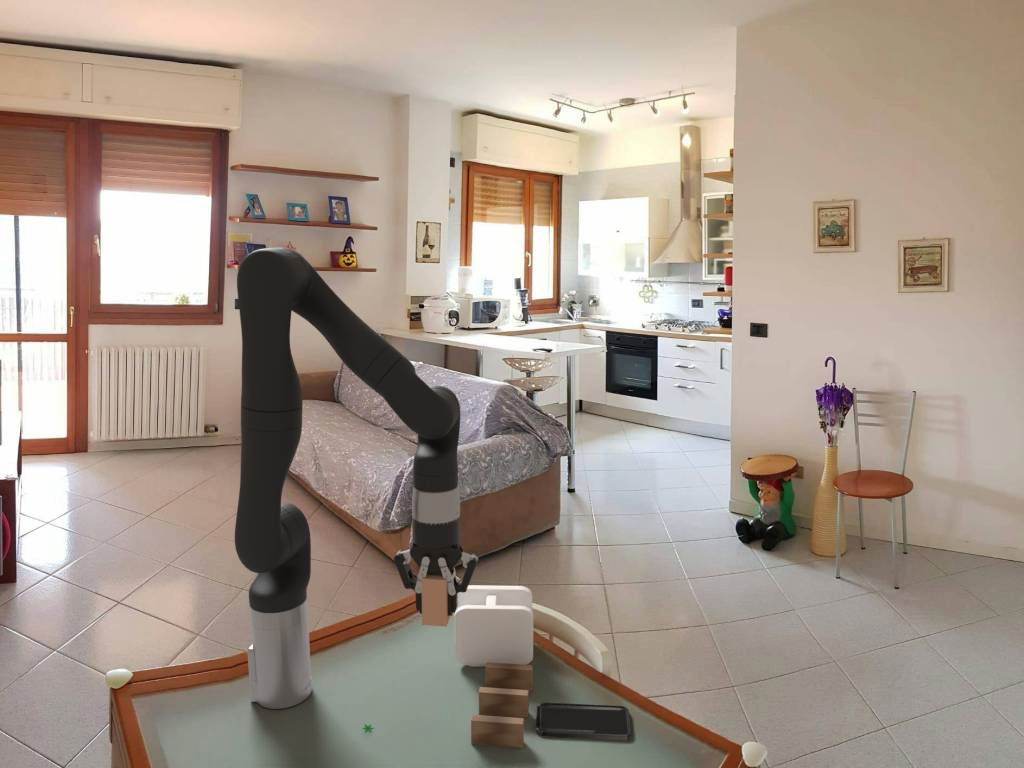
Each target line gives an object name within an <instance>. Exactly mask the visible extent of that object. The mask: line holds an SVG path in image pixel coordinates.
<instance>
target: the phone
mask: <svg viewBox="0 0 1024 768" xmlns="http://www.w3.org/2000/svg"><path fill="white" fill-rule="evenodd" d="M630 717H631V716H630V711H629V708H628V707H626V706H623V705H607V704H606V705H604V704H603V705H602V704H586V703H584V704H583V703H582V704H581V703H561V702H540V703H538V704H537V706H536V717H535V718H536V719H535V733H536V735H537V736H540V737H550V738H551V737H552V738H570V739H571V738H573V739H574V738H575V739H593V740H610V741H611V740H612V741H629V740H630V739H631V738H632V728H631V720H630ZM628 739H629V740H628Z"/></svg>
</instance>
